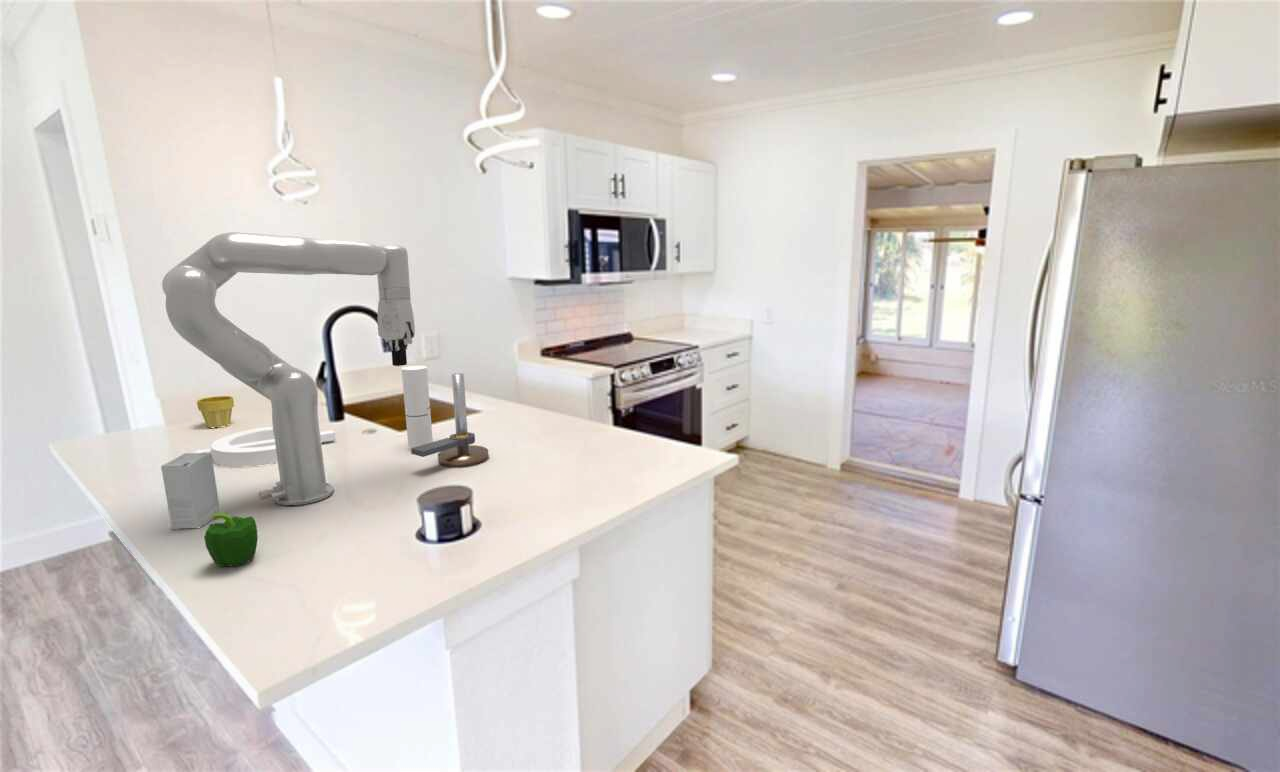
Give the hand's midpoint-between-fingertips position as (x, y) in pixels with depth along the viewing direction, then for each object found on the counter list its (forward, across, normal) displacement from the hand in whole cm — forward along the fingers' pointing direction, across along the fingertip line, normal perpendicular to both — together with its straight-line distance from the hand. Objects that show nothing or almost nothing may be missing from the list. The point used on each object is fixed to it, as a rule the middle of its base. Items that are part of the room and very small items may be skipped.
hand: (399, 365), depth 158 cm
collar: (+24, +5, +9) cm, 26 cm away
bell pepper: (+30, +17, -48) cm, 60 cm away
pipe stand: (+29, +4, +15) cm, 33 cm away
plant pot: (+30, -96, -10) cm, 101 cm away
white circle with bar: (+30, -50, -13) cm, 60 cm away
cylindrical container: (+29, -16, +15) cm, 36 cm away
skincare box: (+30, -10, -46) cm, 56 cm away
